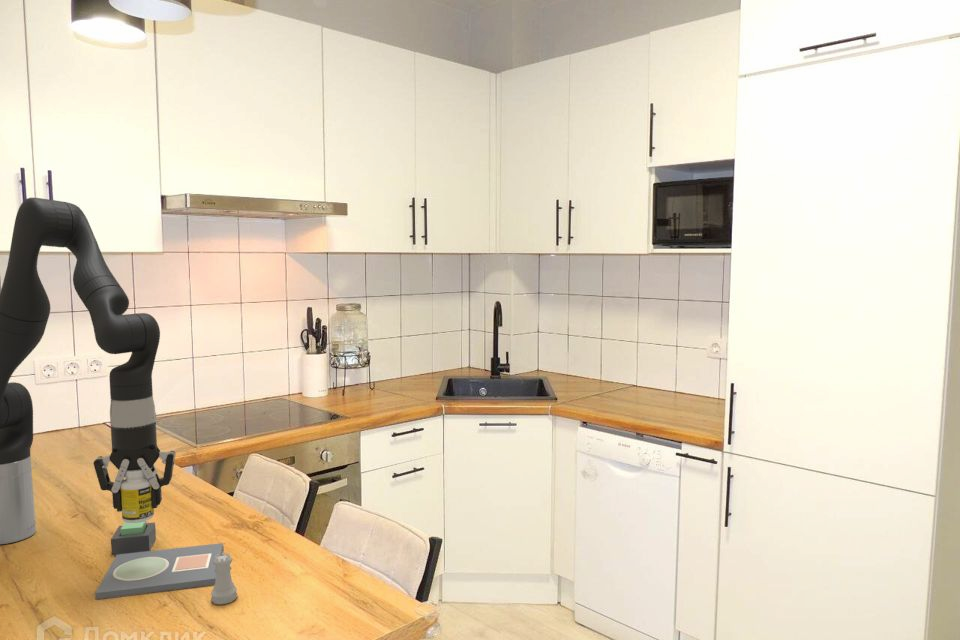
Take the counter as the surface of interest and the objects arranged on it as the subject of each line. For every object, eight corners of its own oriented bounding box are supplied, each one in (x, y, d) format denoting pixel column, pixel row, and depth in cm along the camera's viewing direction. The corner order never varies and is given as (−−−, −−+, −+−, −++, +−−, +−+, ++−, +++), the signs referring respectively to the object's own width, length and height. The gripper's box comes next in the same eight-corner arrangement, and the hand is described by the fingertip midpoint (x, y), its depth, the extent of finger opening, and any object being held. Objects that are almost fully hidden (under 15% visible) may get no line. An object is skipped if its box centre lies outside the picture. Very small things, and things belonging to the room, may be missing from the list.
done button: (121, 540, 140) (120, 529, 140) (125, 532, 144) (124, 521, 144) (142, 538, 141) (141, 527, 141) (146, 530, 145) (145, 519, 145)
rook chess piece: (215, 593, 123) (213, 550, 122) (240, 592, 124) (238, 550, 123) (207, 606, 119) (205, 562, 118) (233, 605, 119) (231, 561, 118)
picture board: (95, 599, 121) (94, 592, 121) (117, 560, 136) (116, 553, 136) (215, 584, 126) (215, 577, 126) (223, 548, 142) (223, 542, 142)
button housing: (111, 555, 138) (110, 539, 138) (120, 541, 145) (119, 525, 145) (149, 551, 140) (148, 535, 140) (155, 538, 147) (155, 522, 147)
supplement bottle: (141, 525, 126) (138, 473, 125) (115, 522, 127) (112, 471, 126) (160, 514, 131) (158, 464, 130) (135, 512, 132) (133, 462, 131)
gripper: (84, 428, 122) (90, 520, 124) (171, 423, 126) (176, 511, 127) (95, 418, 129) (101, 505, 131) (178, 413, 133) (182, 497, 135)
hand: (138, 508), depth 129 cm, fingers closed on supplement bottle, 5 cm apart
